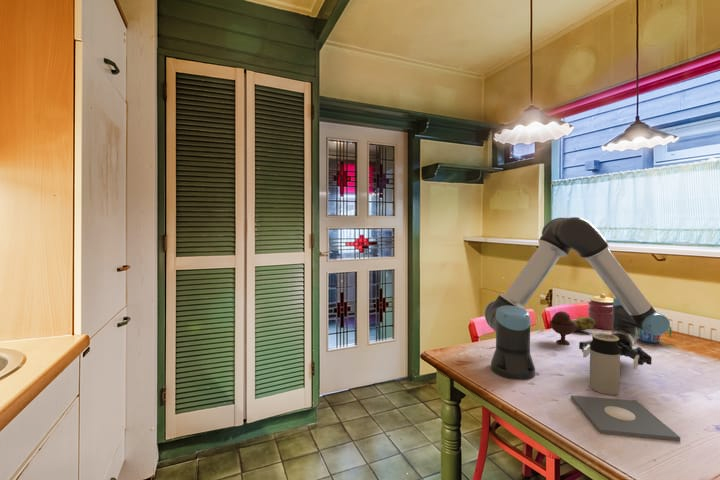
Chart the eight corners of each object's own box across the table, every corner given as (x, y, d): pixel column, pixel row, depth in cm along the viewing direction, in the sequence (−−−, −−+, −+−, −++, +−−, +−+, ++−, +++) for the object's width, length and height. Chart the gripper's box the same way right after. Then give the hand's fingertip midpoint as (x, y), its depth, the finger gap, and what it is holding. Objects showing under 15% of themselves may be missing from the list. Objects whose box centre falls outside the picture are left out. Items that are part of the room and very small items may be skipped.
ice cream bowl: (581, 348, 147) (582, 314, 146) (554, 346, 149) (554, 313, 149) (571, 340, 158) (571, 308, 157) (545, 338, 160) (546, 307, 159)
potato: (567, 327, 178) (568, 312, 177) (596, 332, 168) (597, 316, 168) (562, 330, 172) (562, 315, 172) (592, 336, 162) (592, 320, 162)
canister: (600, 330, 171) (601, 296, 171) (582, 323, 184) (582, 291, 183) (624, 329, 172) (625, 295, 172) (604, 322, 185) (604, 290, 185)
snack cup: (626, 339, 157) (626, 318, 156) (628, 334, 164) (628, 314, 164) (671, 347, 146) (672, 324, 146) (671, 341, 154) (672, 319, 153)
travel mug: (625, 396, 106) (626, 340, 105) (599, 395, 106) (600, 340, 106) (608, 384, 114) (609, 332, 113) (584, 383, 114) (584, 332, 114)
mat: (599, 433, 87) (600, 428, 87) (570, 398, 105) (570, 394, 105) (680, 441, 84) (680, 436, 84) (636, 403, 101) (636, 399, 101)
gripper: (664, 362, 117) (658, 382, 102) (580, 344, 135) (565, 359, 120) (664, 341, 116) (659, 358, 102) (581, 326, 134) (566, 339, 120)
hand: (608, 359), depth 111 cm, fingers open, 13 cm apart
